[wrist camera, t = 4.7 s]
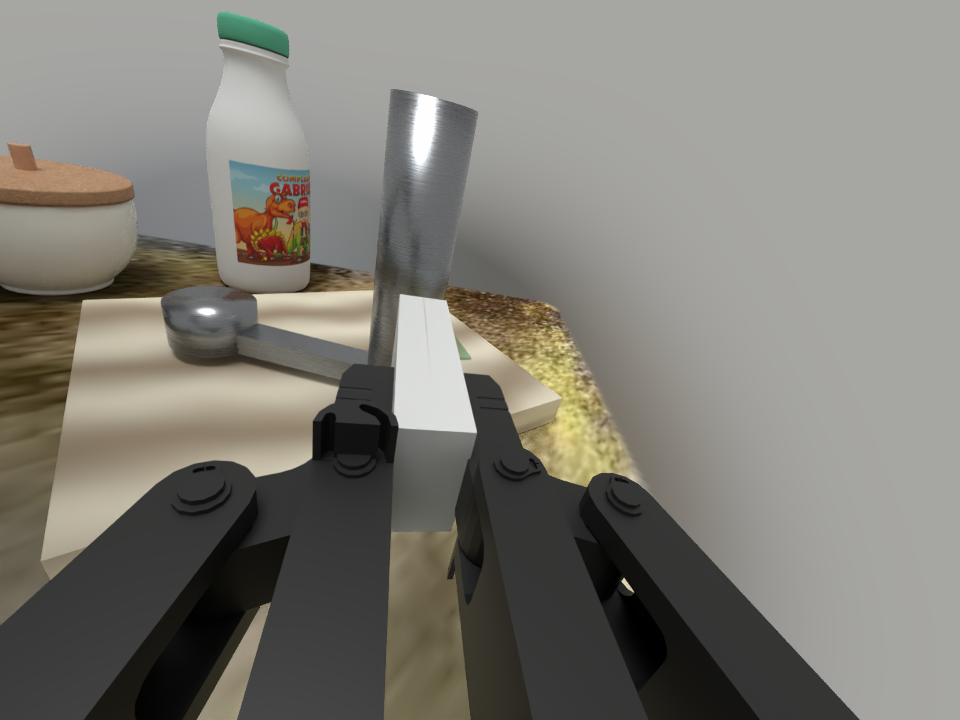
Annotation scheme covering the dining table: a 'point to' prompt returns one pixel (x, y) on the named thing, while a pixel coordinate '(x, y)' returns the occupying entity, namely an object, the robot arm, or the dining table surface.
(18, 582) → the dining table surface
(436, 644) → the dining table surface
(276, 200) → the milk bottle
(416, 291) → the lever
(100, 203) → the lidded jar
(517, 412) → the dial board
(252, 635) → the dining table surface
